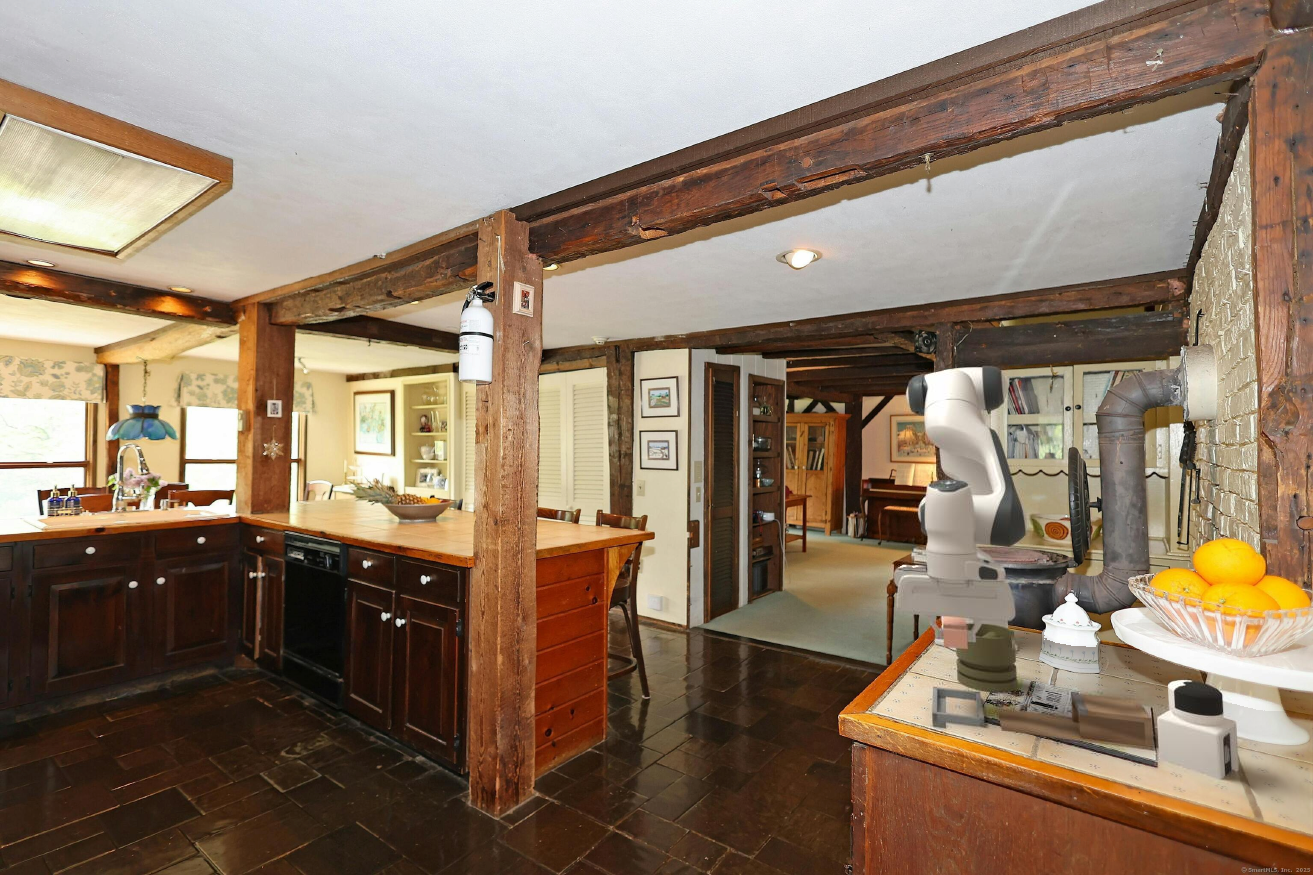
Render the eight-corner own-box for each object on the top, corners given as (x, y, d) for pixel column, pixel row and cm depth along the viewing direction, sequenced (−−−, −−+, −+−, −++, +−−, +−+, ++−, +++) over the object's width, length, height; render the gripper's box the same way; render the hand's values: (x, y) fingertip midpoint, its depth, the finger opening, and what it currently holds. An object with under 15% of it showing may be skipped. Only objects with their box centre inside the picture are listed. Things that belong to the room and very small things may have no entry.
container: (1239, 770, 98) (1235, 686, 98) (1221, 786, 94) (1216, 698, 94) (1178, 751, 104) (1174, 672, 104) (1158, 765, 100) (1154, 682, 100)
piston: (946, 631, 134) (966, 620, 142) (949, 687, 134) (969, 673, 142) (1004, 641, 126) (1022, 629, 134) (1007, 701, 126) (1024, 685, 134)
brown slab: (997, 713, 121) (996, 681, 121) (1137, 730, 112) (1136, 696, 112) (1002, 735, 112) (1000, 701, 112) (1155, 756, 103) (1153, 719, 103)
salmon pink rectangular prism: (943, 646, 118) (942, 629, 118) (944, 631, 127) (943, 615, 127) (967, 648, 116) (966, 631, 116) (966, 633, 125) (965, 617, 125)
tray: (933, 698, 129) (933, 686, 129) (980, 703, 125) (980, 691, 126) (932, 725, 117) (932, 712, 117) (984, 732, 113) (984, 719, 113)
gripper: (892, 567, 121) (895, 639, 120) (1014, 572, 112) (1018, 650, 112) (894, 561, 126) (897, 630, 126) (1010, 565, 118) (1014, 639, 118)
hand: (955, 639), depth 119 cm, fingers closed on salmon pink rectangular prism, 4 cm apart
